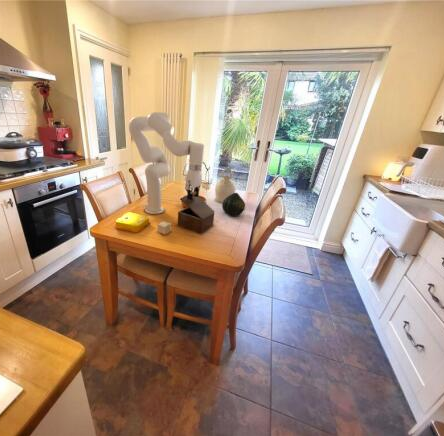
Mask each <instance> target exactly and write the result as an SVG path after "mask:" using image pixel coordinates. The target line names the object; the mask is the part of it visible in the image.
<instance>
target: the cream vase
mask: <svg viewBox="0 0 444 436" xmlns="http://www.w3.org/2000/svg"><path fill="white" fill-rule="evenodd" d="M227 171H228V172H229V173H230V175H225V172H227ZM221 176H222V179H220V180H219V181H217V183H216V184H215V187H214V194H215V200H216V202H218V203H220V204H221V203H223V201H224V199H225V198H226V197H228V196H229V195H231V194H233V193H236V184H235V182H234V181H232V180H231V178H232V177H233V170H232V169H231V168H228V167H226V168H225V169H223V170H222V171H221Z"/></svg>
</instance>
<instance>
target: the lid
mask: <svg viewBox="0 0 444 436" xmlns="http://www.w3.org/2000/svg"><path fill="white" fill-rule="evenodd" d="M192 193H193V197H192V200H189V199H187V195H185V196H183V197H180V198H179V200H180V201H181V202H182V203H183V204H184V205H185V206H187V207H189V208H190V209H191V210H192V211H193V212H194V213H195V214H196V215H197V216H198V217H199V218H201V219H204V218H206V217H207V216H209V215H210V214H212V213H214V214H215V212H216V211H215V210H214V209H213V208H211V206H210V205H209V204H207V203H206V202H205V201H204V200H203V199H202V198H201V197H200V196H198V197H195V196H194V195H195V194H197V192H196V191H194V190H193V192H192Z"/></svg>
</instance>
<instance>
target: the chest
mask: <svg viewBox="0 0 444 436" xmlns="http://www.w3.org/2000/svg"><path fill="white" fill-rule="evenodd" d="M214 220H215V212H214V213H212V214H210V215H209V216H207V217H206V218H204V219H201V218H199V217H198V216H197V215H196V214H195V213H194V212H193V211H192V210H191V209H190V208H189V207H188V206H187V207H185V208H183V209H181V210H179V211H178V212H177V226H178V227H181V228H184V229H186V230H189V231H192V232H194V233H196V234H200V235H202V234H203V233H205V232H206V231H207V230H209V229H211V228H212V227H213V226H214Z"/></svg>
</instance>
